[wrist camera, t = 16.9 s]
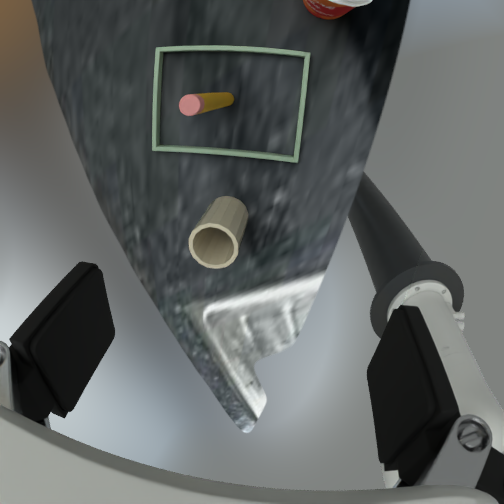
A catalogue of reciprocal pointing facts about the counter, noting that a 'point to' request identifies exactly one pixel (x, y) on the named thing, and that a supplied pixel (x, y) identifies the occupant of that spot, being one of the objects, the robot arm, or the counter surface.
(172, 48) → the tray
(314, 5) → the paper cup
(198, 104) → the pencil
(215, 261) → the pen cup
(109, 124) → the counter surface
